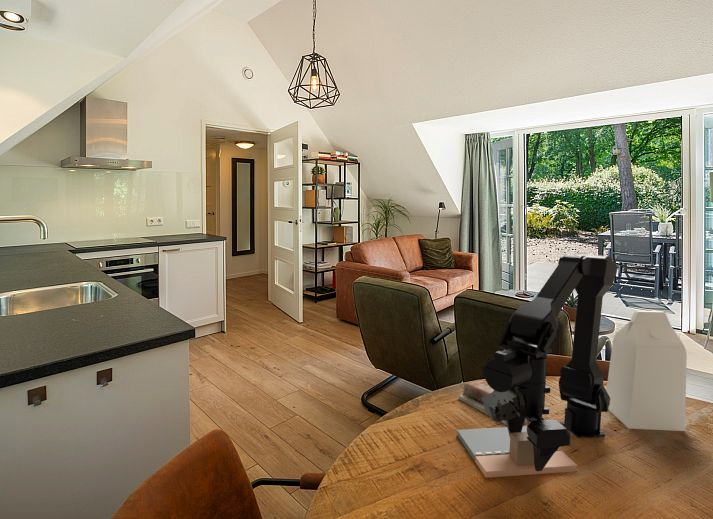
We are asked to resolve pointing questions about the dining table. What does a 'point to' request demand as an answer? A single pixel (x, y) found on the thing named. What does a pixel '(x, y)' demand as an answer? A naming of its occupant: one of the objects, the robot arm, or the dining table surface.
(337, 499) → the dining table surface
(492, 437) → the board
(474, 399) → the packaged product
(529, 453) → the stub
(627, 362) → the milk
